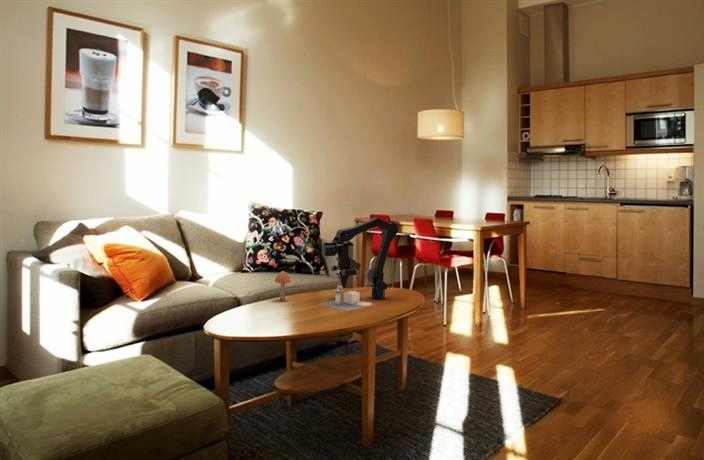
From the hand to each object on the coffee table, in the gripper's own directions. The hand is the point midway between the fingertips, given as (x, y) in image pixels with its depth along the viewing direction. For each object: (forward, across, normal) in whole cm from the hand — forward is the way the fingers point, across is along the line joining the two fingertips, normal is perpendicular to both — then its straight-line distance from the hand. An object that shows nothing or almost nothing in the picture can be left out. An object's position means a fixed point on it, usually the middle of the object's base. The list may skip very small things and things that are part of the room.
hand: (343, 287), depth 245 cm
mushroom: (+7, +18, +25) cm, 32 cm away
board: (+8, -5, +1) cm, 9 cm away
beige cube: (+7, -3, -3) cm, 8 cm away
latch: (0, -2, +4) cm, 4 cm away
